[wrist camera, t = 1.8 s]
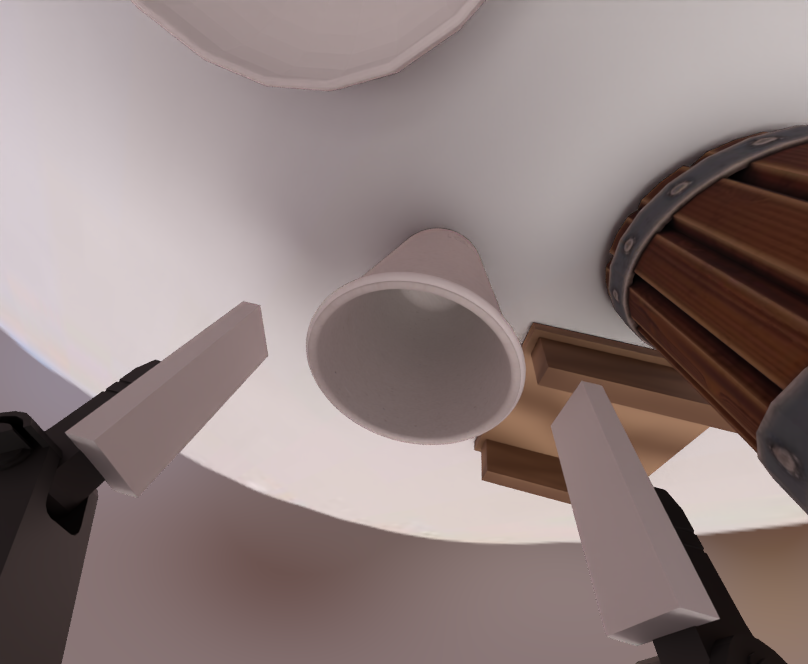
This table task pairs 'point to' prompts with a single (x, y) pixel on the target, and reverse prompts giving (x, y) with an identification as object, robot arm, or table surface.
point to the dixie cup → (419, 345)
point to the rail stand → (627, 391)
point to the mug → (730, 289)
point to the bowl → (311, 36)
